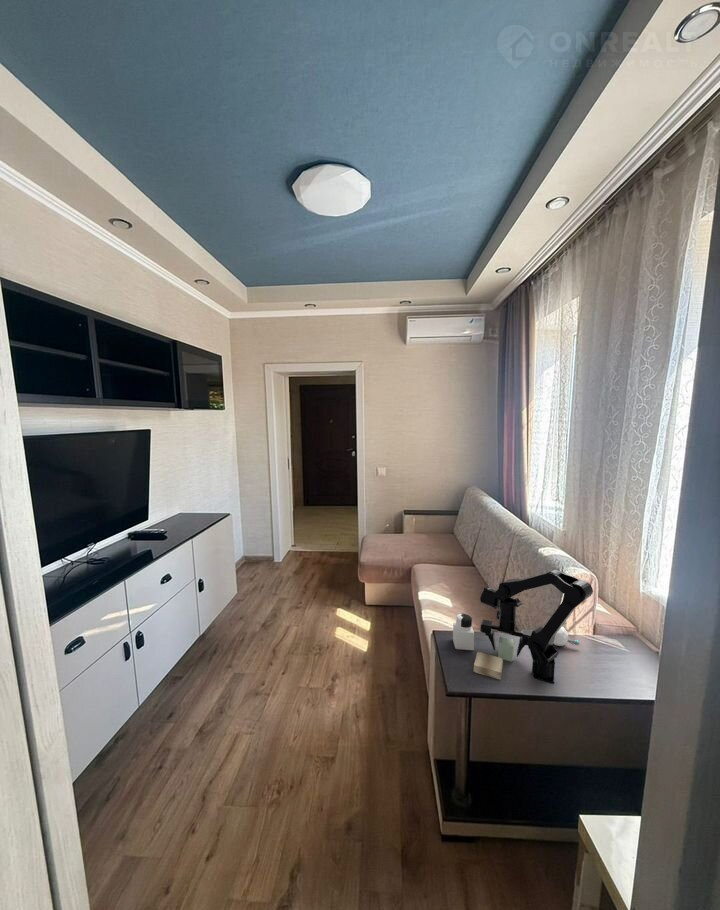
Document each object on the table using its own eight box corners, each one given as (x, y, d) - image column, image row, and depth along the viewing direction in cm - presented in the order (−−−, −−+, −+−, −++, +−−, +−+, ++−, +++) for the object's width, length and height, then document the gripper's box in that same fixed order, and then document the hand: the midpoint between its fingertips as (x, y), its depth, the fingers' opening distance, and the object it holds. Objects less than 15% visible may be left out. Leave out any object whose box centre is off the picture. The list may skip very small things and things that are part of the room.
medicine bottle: (470, 640, 151) (471, 612, 150) (473, 650, 144) (475, 621, 143) (452, 639, 151) (453, 610, 151) (455, 649, 144) (456, 619, 144)
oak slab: (502, 666, 135) (503, 658, 135) (500, 680, 127) (500, 672, 127) (477, 659, 139) (477, 651, 139) (473, 672, 131) (473, 664, 131)
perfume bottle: (545, 626, 157) (578, 637, 151) (543, 644, 151) (576, 656, 146) (548, 617, 152) (582, 628, 146) (546, 635, 146) (581, 648, 141)
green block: (513, 654, 142) (513, 639, 141) (512, 661, 137) (513, 646, 137) (499, 651, 144) (500, 636, 143) (498, 658, 139) (498, 642, 139)
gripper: (535, 610, 143) (532, 649, 144) (484, 599, 151) (483, 636, 152) (534, 623, 133) (532, 664, 134) (481, 611, 141) (479, 650, 142)
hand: (505, 653), depth 140 cm, fingers open, 8 cm apart
